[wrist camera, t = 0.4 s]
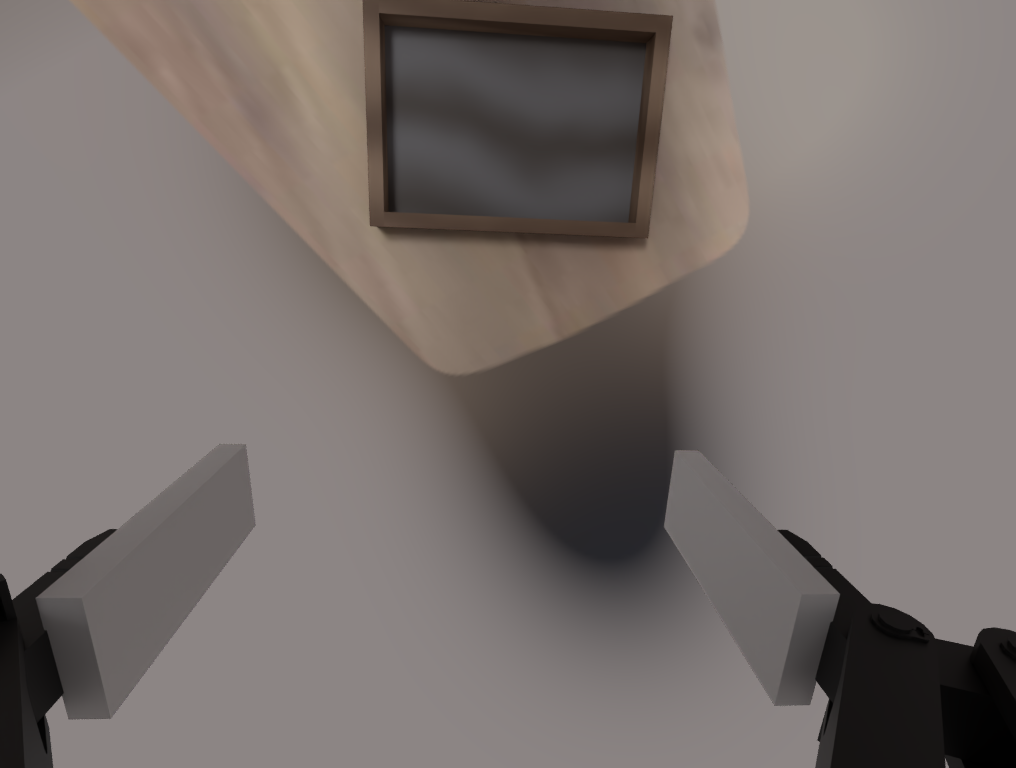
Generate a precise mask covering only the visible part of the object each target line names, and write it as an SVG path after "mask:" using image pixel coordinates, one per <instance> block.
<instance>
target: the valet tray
mask: <svg viewBox="0 0 1016 768" xmlns="http://www.w3.org/2000/svg"><path fill="white" fill-rule="evenodd" d="M672 20H673V16H668V15H654V14H641V13H627V12H613V11H599V10H585V9H571V8H558V7H544V6H530V5H516V4H502V3H488V2H475V1H461V0H363V26H364V57H365V88H366V119H367V149H368V180H369V211H370V226H377V227H400V228H423V229H446V230H469V231H492V232H515V233H538V234H561V235H584V236H607V237H630V238H648V232H649V223H650V214H651V205H652V197H653V188H654V179H655V170H656V161H657V152H658V144H659V135H660V126H661V117H662V108H663V99H664V90H665V82H666V73H667V64H668V55H669V46H670V37H671V29H672Z"/></svg>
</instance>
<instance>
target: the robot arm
mask: <svg viewBox="0 0 1016 768" xmlns="http://www.w3.org/2000/svg"><path fill="white" fill-rule="evenodd" d="M254 527H255V516H254V508H253V500H252V491H251V483H250V474H249V466H248V458H247V450H246V445H245V444H219V445H218V446H217V447H216V448H214V449H213V450H212V451H211V452H209V453H208V454H207V455H206V456H205V457H204V458H202V459H201V460H200V461H199V462H198V463H196V464H195V465H194V466H193V467H192V468H190V469H189V470H188V471H187V472H186V473H184V474H183V475H182V476H181V477H180V478H178V479H177V480H176V481H175V482H174V483H173V484H171V485H170V486H169V487H168V488H166V489H165V490H164V491H163V492H162V493H160V495H158V496H157V497H156V498H155V499H153V500H152V501H151V502H150V503H149V504H147V505H146V506H145V507H144V508H143V509H141V510H140V511H139V512H138V513H137V514H135V515H134V516H133V517H132V518H131V519H130V520H128V521H127V522H126V523H125V524H123V525H122V526H121V527H120V528H119V529H109V530H107V531H105V532H104V533H102V534H99V535H97V536H96V537H94V538H92V539H90V540H88V541H86V542H84V543H83V544H82V545H80V546H79V547H78V548H77V549H76V550H74V551H73V552H72V553H70V554H69V555H68V556H67V558H66V560H65V559H63V560H62V561H60V562H59V563H58V564H57V565H55V566H54V567H53V568H52V569H51V572H47V573H46V574H44V575H43V576H42V577H40V578H39V579H38V580H37V581H35V582H34V583H33V584H32V585H31V586H29V587H28V588H27V589H25V590H24V591H23V592H22V593H20V594H19V595H18V596H17V597H16V598H14V599H13V600H12V599H11V595H10V592H9V589H8V585H7V582H6V579H5V578H4V576H3V575H2V574H0V768H53V763H52V752H51V742H50V732H49V726H48V723H47V719H46V716H45V714H46V713H47V711H48V710H49V709H50V708H51V707H52V706H53V705H54V703H55V702H56V701H57V700H58V699H59V698H60V697H61V696H62V697H63V700H64V704H65V708H66V711H67V715H68V719H111V718H112V717H113V715H114V714H115V713H116V711H117V710H118V709H119V707H120V706H121V705H122V703H123V702H124V701H125V699H126V698H127V697H128V695H129V694H130V692H131V691H132V690H133V688H134V687H135V686H136V684H137V683H138V682H139V680H140V679H141V678H142V676H143V675H144V674H145V672H146V671H147V670H148V668H149V667H150V666H151V664H152V663H153V662H154V660H155V659H156V658H157V656H158V655H159V654H160V652H161V651H162V650H163V648H164V647H165V645H166V644H167V643H168V642H169V640H170V639H171V638H172V636H173V635H174V634H175V632H176V631H177V630H178V628H179V627H180V626H181V624H182V623H183V622H184V620H185V619H186V618H187V616H188V615H189V614H190V612H191V611H192V610H193V608H194V607H195V606H196V604H197V603H198V602H199V600H200V599H201V597H202V596H203V595H204V593H205V592H206V591H207V590H208V588H209V587H210V585H211V584H212V583H213V581H214V580H215V579H216V577H217V576H218V575H219V573H220V572H221V571H222V569H223V568H224V567H225V565H226V564H227V563H228V561H229V560H230V559H231V557H232V556H233V555H234V553H235V552H236V551H237V549H238V548H239V547H240V545H241V544H242V543H243V541H244V540H245V539H246V537H247V536H248V534H249V533H250V532H251V530H252V529H253V528H254ZM664 528H665V529H666V531H667V533H668V534H669V536H670V537H671V539H672V541H673V542H674V544H675V546H676V547H677V549H678V550H679V552H680V554H681V555H682V557H683V558H684V560H685V562H686V563H687V565H688V566H689V568H690V570H691V571H692V573H693V575H694V576H695V578H696V580H697V581H698V583H699V584H700V586H701V588H702V589H703V591H704V592H705V594H706V596H707V597H708V599H709V600H710V602H711V604H712V605H713V607H714V609H715V610H716V612H717V613H718V615H719V617H720V618H721V620H722V622H723V623H724V625H725V626H726V628H727V629H728V631H729V633H730V635H731V636H732V638H733V639H734V641H735V643H736V644H737V646H738V647H739V649H740V650H741V652H742V654H743V656H744V657H745V659H746V660H747V662H748V664H749V665H750V667H751V668H752V670H753V672H754V673H755V675H756V677H757V678H758V680H759V681H760V683H761V685H762V686H763V688H764V690H765V691H766V693H767V694H768V696H769V698H770V699H771V701H772V702H773V704H774V705H775V706H782V705H783V706H784V705H785V706H786V705H810V703H811V699H812V696H813V692H814V688H815V685H816V681H817V682H818V684H819V685H820V687H821V688H822V689H823V690H824V692H825V693H826V695H827V696H828V697H829V701H828V705H827V708H826V711H825V715H824V718H823V722H822V726H821V729H820V733H819V736H818V741H819V742H820V745H819V750H818V756H817V761H816V767H815V768H945V758H946V761H947V763H948V766H949V768H1016V632H1014V631H1011V630H1006V629H1000V628H986V629H983V630H982V631H981V632H980V633H979V634H978V637H977V640H976V642H975V645H974V647H972V646H968V645H963V644H959V643H954V642H949V641H945V640H939V639H935V638H934V635H933V634H932V633H931V632H930V631H929V630H928V629H927V628H926V627H925V626H924V625H923V624H922V623H921V622H919V621H917V620H916V619H915V618H913V617H912V616H910V615H908V614H906V613H904V612H901V611H899V610H897V609H895V608H892V607H888V606H884V605H881V604H872V603H870V602H869V601H868V600H867V599H866V598H865V597H864V596H863V595H862V594H861V593H860V592H859V591H858V590H857V589H856V588H855V587H854V586H853V585H851V583H849V581H847V580H846V579H845V578H844V577H843V576H842V575H841V574H840V573H839V572H838V571H837V570H836V569H833V568H832V565H831V564H830V563H829V562H828V561H827V560H825V558H821V555H820V554H819V553H818V552H817V551H816V550H815V549H814V548H813V547H812V546H811V545H810V544H809V543H808V542H807V541H805V540H803V539H802V538H800V537H798V536H797V535H795V534H793V533H791V532H790V531H788V530H776V529H775V528H774V526H773V525H771V523H770V522H769V521H767V519H766V518H765V517H763V515H762V514H761V513H760V512H758V510H757V509H756V508H755V507H754V506H753V505H752V504H751V503H750V502H749V501H748V500H747V499H746V498H745V497H744V496H743V495H742V494H741V493H740V492H739V491H738V490H737V489H736V488H735V487H734V486H733V485H732V484H731V483H730V482H729V481H728V480H727V479H726V478H725V477H724V476H723V475H722V474H721V473H720V472H719V471H718V470H717V469H716V468H715V467H714V466H713V465H712V464H711V463H710V461H709V460H708V459H707V458H705V456H704V455H702V453H701V452H700V451H697V450H695V451H693V450H675V454H674V461H673V468H672V475H671V481H670V488H669V495H668V502H667V509H666V516H665V523H664Z"/></svg>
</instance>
